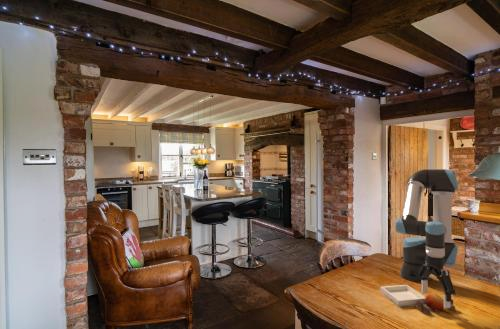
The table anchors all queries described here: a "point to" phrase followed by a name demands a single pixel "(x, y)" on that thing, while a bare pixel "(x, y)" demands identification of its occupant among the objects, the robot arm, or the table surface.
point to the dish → (402, 295)
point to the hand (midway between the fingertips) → (435, 300)
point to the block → (426, 309)
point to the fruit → (434, 302)
